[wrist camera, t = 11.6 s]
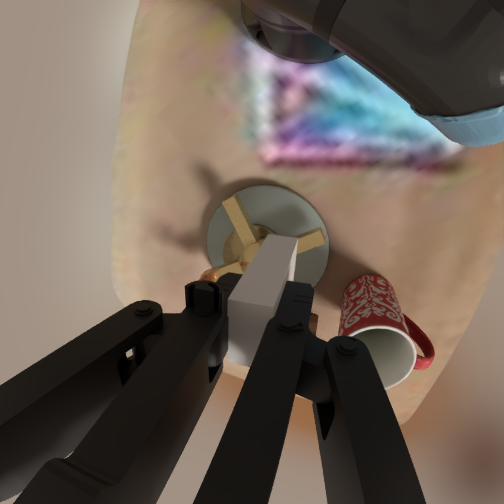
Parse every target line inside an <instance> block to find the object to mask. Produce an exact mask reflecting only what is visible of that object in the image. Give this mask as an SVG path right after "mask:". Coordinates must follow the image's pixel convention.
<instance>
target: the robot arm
mask: <svg viewBox="0 0 504 504" xmlns="http://www.w3.org/2000/svg"><path fill="white" fill-rule="evenodd" d="M241 13H242V18H243V21H244V23H245V26H246V28H247V29H248V31H249V33H250V34H251V35H252V37H253V38H254V39H255V40H256V41H257V42H258V43H259V44H260V45H261V46H262V47H263V48H264V49H266V50H267V51H269V52H270V53H272V54H273V55H275V56H277V57H280V58H282V59H285V60H288V61H291V62H296V63H304V64H315V63H323V62H328V61H331V60H334V59H337V58H339V57H341V56H343V55H347V56H348V57H349V58H351V59H352V60H354V61H355V62H357V63H358V64H359V65H361V66H362V67H363V68H365V69H366V70H368V71H369V72H370V73H371V74H373V75H374V76H375V77H377V78H378V79H379V80H381V81H382V82H383V83H384V84H386V85H387V86H388V87H389V88H391V89H392V90H393V91H394V92H396V93H397V94H398V95H399V96H400V97H402V98H403V99H404V100H405V101H406V102H407V103H409V104H410V106H411V109H412V110H413V111H414V112H415V113H416V114H417V115H418V116H420V117H422V118H424V119H426V120H428V121H429V122H430V123H431V124H432V125H434V126H435V127H436V128H437V129H438V130H439V131H440V132H441V133H443V134H444V135H445V136H446V137H447V138H448V139H450V140H451V141H453V142H456V143H459V144H461V145H465V146H469V147H481V146H488V145H493V144H496V143H499V142H502V141H504V0H241ZM297 244H298V238H294V237H287V236H280V235H272V234H268V235H267V237H266V239H265V240H264V242H263V243H262V245H261V247H260V248H259V250H258V251H257V253H256V255H255V256H254V258H253V259H252V261H251V263H250V264H249V266H248V267H247V269H246V271H245V272H244V274H237V273H231V272H228V273H226V274H224V275H222V276H220V277H219V279H218V280H217V281H216V282H213V281H207V280H200V281H194V282H191V283H189V284H187V285H186V286H185V298H186V308H185V309H184V310H183V311H182V313H163V312H162V307H161V305H160V304H158V303H157V302H154V301H150V300H142V301H137V302H134V303H132V304H130V305H128V306H127V307H125V308H123V309H122V310H120V311H118V312H117V313H115V314H113V315H112V316H110V317H109V318H107V319H105V320H104V321H102V322H101V323H99V324H97V325H96V326H94V327H92V328H91V329H89V330H87V331H86V332H84V333H83V334H81V335H80V336H78V337H76V338H75V339H73V340H71V341H70V342H68V343H67V344H65V345H63V346H62V347H60V348H59V349H57V350H55V351H54V352H52V353H51V354H49V355H48V356H46V357H44V358H43V359H41V360H40V361H38V362H37V363H35V364H33V365H32V366H30V367H28V368H27V369H25V370H24V371H22V372H21V373H19V374H17V375H16V376H14V377H13V378H11V379H10V380H8V381H7V382H5V383H3V384H2V385H0V502H2V501H5V500H7V499H9V498H11V497H13V496H15V495H17V494H19V493H20V492H21V491H22V493H21V494H20V495H19V497H18V498H17V499H16V501H15V502H14V503H13V504H156V502H157V501H158V499H159V497H160V495H161V493H162V491H163V489H164V487H165V485H166V483H167V481H168V479H169V477H170V475H171V473H172V471H173V470H174V468H175V466H176V464H177V462H178V460H179V458H180V456H181V454H182V452H183V450H184V448H185V446H186V444H187V442H188V440H189V438H190V436H191V434H192V432H193V430H194V428H195V426H196V424H197V422H198V420H199V418H200V416H201V414H202V412H203V410H204V408H205V406H206V404H207V402H208V400H209V398H210V395H211V393H212V391H213V389H214V387H215V385H216V383H217V381H218V379H219V377H220V375H221V373H222V370H223V359H224V357H225V355H226V353H227V362H230V363H234V364H239V365H244V366H248V367H250V369H249V372H248V374H247V377H246V379H245V382H244V384H243V387H242V389H241V392H240V394H239V397H238V399H237V402H236V404H235V406H234V409H233V411H232V414H231V416H230V419H229V422H228V423H227V426H226V428H225V431H224V433H223V435H222V438H221V440H220V443H219V445H218V447H217V450H216V452H215V454H214V457H213V459H212V461H211V464H210V466H209V468H208V470H207V473H206V475H205V477H204V480H203V482H202V484H201V487H200V489H199V491H198V493H197V495H196V498H195V500H194V502H193V504H268V502H269V498H270V494H271V491H272V487H273V483H274V480H275V476H276V472H277V468H278V465H279V460H280V457H281V453H282V449H283V445H284V441H285V437H286V433H287V428H288V424H289V419H290V415H291V411H292V407H293V401H294V397H295V394H298V395H300V396H302V397H304V398H307V399H309V400H311V401H313V404H312V406H313V412H314V418H315V424H316V430H317V436H318V442H319V449H320V455H321V461H322V468H323V475H324V482H325V489H326V495H327V503H328V504H426V502H425V498H424V495H423V492H422V489H421V486H420V483H419V480H418V477H417V474H416V472H415V468H414V465H413V463H412V460H411V457H410V454H409V451H408V448H407V446H406V443H405V440H404V438H403V435H402V432H401V429H400V427H399V424H398V421H397V419H396V416H395V414H394V411H393V408H392V406H391V403H390V401H389V398H388V396H387V393H386V391H385V388H384V386H383V383H382V381H381V378H380V376H379V374H378V371H377V369H376V366H375V364H374V361H373V359H372V357H371V354H370V352H369V350H368V348H367V346H366V345H365V343H364V342H362V341H361V340H359V339H357V338H354V337H352V336H344V335H342V336H336V337H334V338H331V339H330V340H329V341H328V342H326V341H324V340H322V339H319V338H317V337H316V336H315V335H313V333H312V332H311V331H310V329H309V320H310V314H311V308H312V302H313V296H314V289H313V287H312V286H311V284H308V283H301V282H294V281H293V279H294V271H295V262H296V253H297ZM131 348H132V352H133V355H132V356H130V357H128V358H127V357H126V352H127V351H128V350H130V349H131ZM71 452H73V453H72V454H71V455H70V456H69V457H67V456H68V455H69V454H70V453H71ZM65 457H67V458H65ZM64 458H65V459H64Z"/></svg>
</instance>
